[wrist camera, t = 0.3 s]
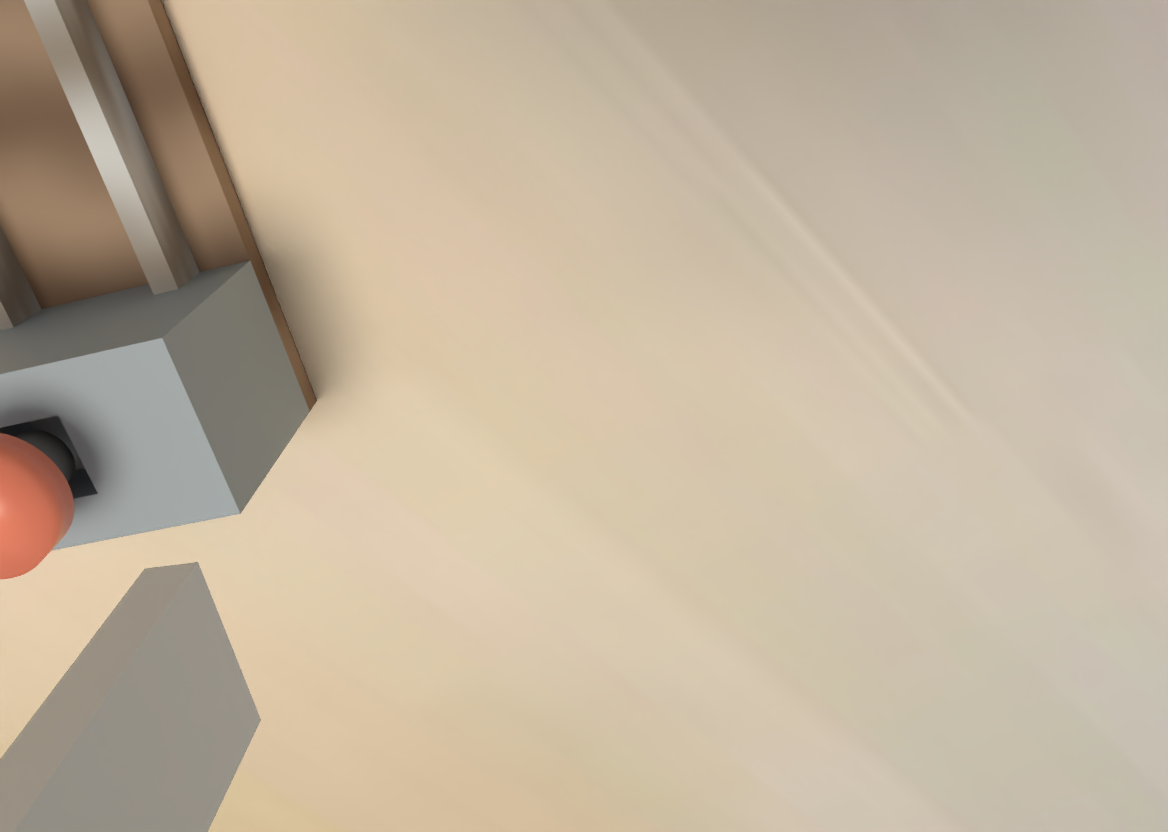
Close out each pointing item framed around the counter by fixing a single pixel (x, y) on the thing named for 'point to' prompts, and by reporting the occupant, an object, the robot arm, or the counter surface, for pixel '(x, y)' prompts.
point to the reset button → (33, 498)
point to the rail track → (109, 163)
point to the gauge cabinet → (156, 400)
